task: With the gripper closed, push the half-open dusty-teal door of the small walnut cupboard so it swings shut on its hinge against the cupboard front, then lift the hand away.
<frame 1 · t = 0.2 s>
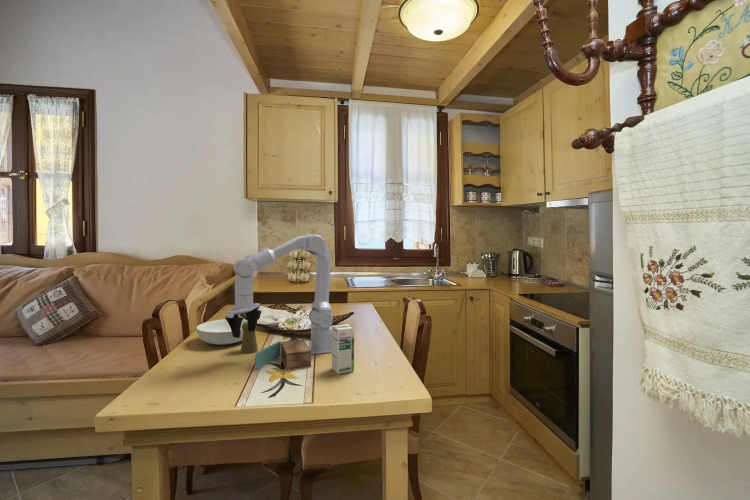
hand: (244, 334, 122), 10 cm above the table, fingers open, 7 cm apart
syrup box: (342, 370, 118), on the table
teal door: (267, 354, 122), point 3 cm above the table, hinge at 40.0°
serving bowl: (225, 342, 144), on the table
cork: (249, 351, 134), on the table
walnut cabinet: (295, 361, 124), on the table
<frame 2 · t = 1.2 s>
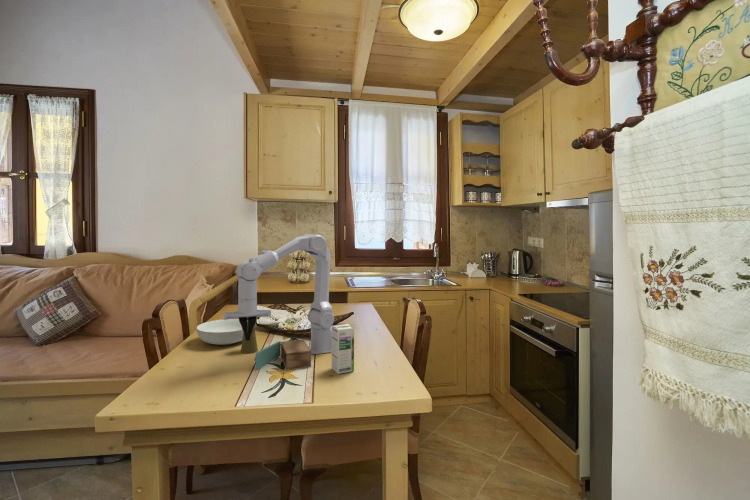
hand: (247, 339, 118), 9 cm above the table, fingers closed
nothing on the table moved.
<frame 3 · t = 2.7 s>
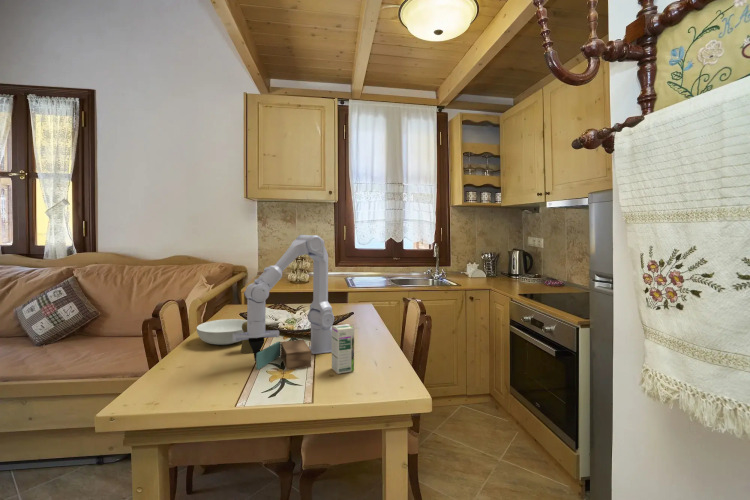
hand: (256, 360, 119), 2 cm above the table, fingers closed
teal door: (268, 354, 122), point 3 cm above the table, hinge at 38.4°, touching gripper
everything else where it was.
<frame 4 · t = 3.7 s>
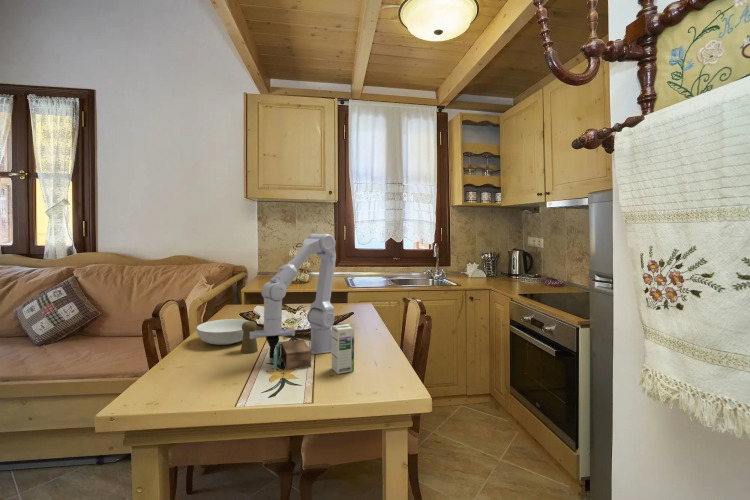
hand: (272, 357, 121), 2 cm above the table, fingers closed
teal door: (275, 355, 122), point 3 cm above the table, hinge at 13.1°, touching gripper
everything else where it was.
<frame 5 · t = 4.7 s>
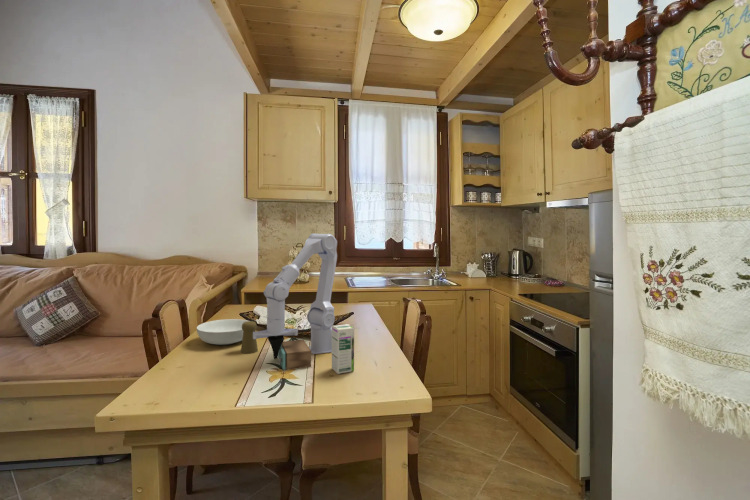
hand: (275, 357, 122), 2 cm above the table, fingers closed
teal door: (280, 355, 122), point 3 cm above the table, hinge at 0.5°, touching gripper
everything else where it was.
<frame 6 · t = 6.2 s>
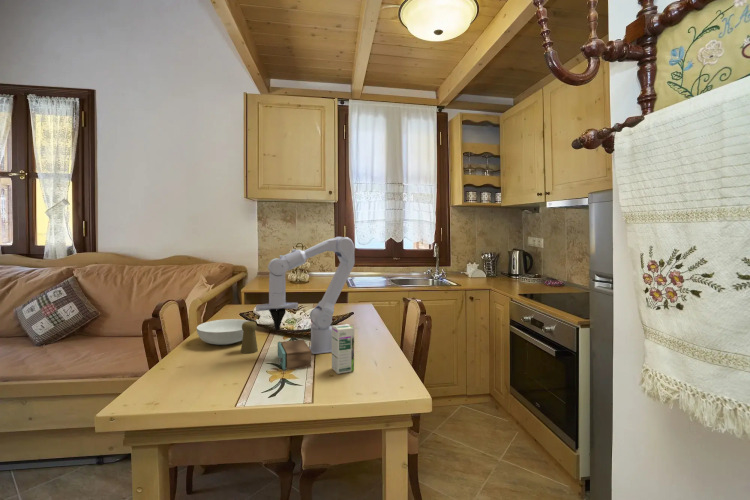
hand: (277, 329, 129), 9 cm above the table, fingers closed
teal door: (280, 355, 122), point 3 cm above the table, hinge at 0.5°
everything else where it was.
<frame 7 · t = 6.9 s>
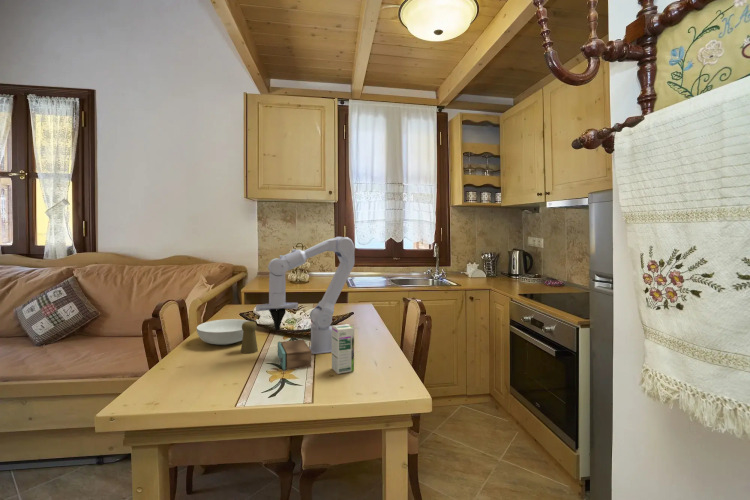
hand: (277, 329, 129), 9 cm above the table, fingers closed
nothing on the table moved.
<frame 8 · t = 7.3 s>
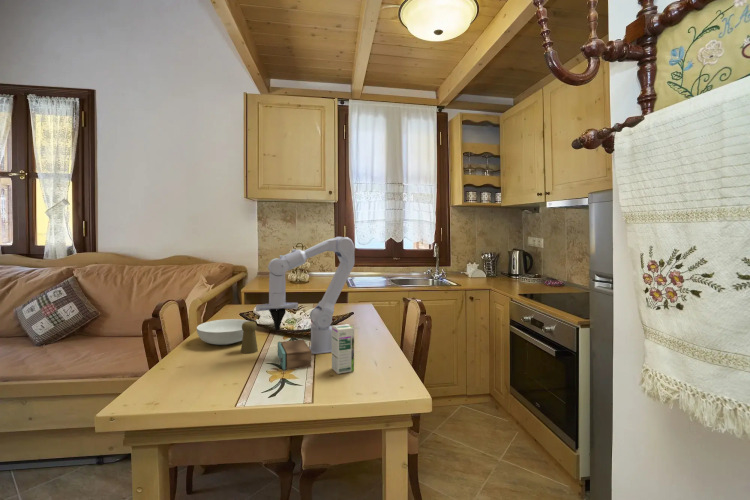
hand: (277, 329, 129), 9 cm above the table, fingers closed
nothing on the table moved.
at the end: teal door at +0° (first picture: +40°); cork tilted 0° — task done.
